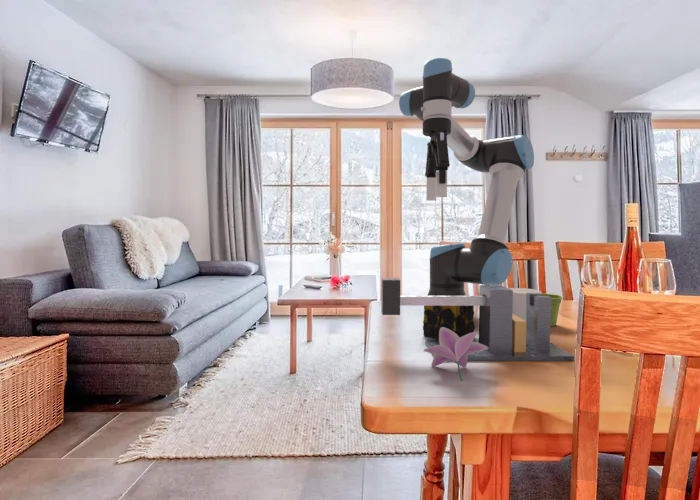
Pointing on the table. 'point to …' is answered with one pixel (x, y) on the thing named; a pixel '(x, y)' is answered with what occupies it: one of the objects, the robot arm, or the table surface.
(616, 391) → the table surface
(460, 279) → the robot arm
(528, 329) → the shaft stand
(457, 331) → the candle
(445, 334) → the lily
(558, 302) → the plant pot
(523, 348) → the tan rectangular block
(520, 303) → the candle holder
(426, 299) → the shaft
